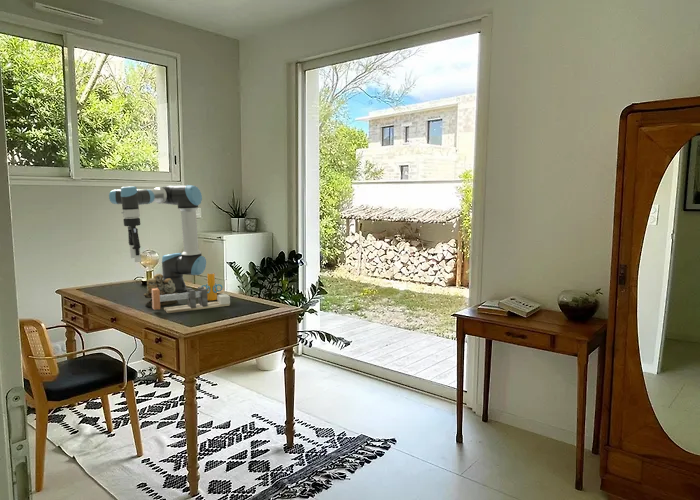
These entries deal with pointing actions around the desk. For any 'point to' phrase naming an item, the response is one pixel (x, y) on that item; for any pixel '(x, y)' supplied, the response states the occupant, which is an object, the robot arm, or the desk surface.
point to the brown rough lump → (163, 286)
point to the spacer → (223, 299)
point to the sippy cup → (211, 287)
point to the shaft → (169, 297)
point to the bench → (186, 308)
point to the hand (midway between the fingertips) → (135, 259)
